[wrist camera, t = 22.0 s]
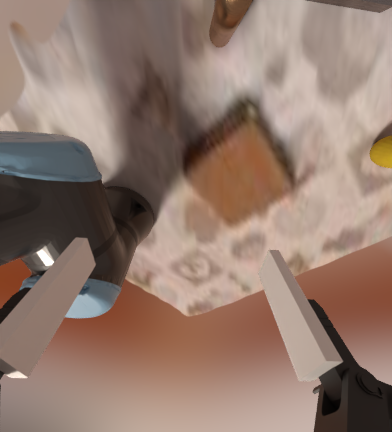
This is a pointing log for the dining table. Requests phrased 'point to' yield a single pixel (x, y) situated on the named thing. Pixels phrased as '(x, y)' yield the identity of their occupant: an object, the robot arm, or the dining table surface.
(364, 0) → the grey frame
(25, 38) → the dining table surface
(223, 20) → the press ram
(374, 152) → the lemon
